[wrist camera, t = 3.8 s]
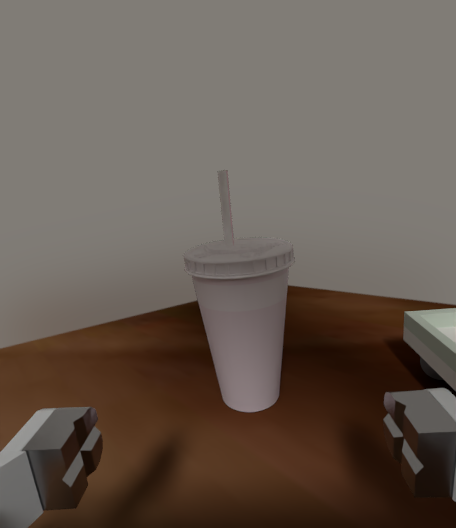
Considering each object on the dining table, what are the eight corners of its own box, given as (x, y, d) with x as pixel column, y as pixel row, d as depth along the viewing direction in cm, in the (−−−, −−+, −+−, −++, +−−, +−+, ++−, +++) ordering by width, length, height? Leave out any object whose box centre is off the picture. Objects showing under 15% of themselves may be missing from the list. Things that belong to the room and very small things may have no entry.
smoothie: (234, 358, 26) (215, 173, 22) (314, 378, 22) (307, 162, 19) (180, 408, 21) (146, 177, 17) (275, 444, 17) (256, 164, 14)
